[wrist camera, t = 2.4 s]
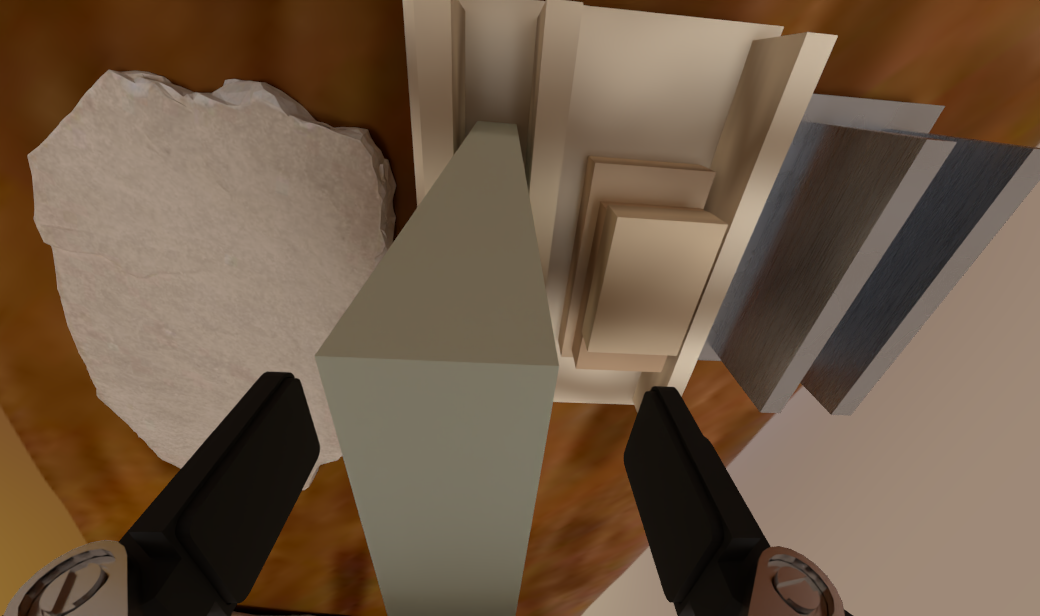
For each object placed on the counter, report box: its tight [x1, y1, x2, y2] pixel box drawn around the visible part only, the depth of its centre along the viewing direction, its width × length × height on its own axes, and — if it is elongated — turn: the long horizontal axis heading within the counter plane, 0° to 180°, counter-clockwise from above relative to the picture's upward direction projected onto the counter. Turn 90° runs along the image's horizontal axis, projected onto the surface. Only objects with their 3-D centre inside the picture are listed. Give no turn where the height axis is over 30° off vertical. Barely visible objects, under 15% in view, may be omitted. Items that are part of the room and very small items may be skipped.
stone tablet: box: [28, 70, 397, 490], centre depth 22 cm, size 16×30×2 cm, turn 159°
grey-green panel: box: [315, 121, 559, 616], centre depth 12 cm, size 12×2×15 cm, turn 176°
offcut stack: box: [558, 156, 728, 372], centre depth 17 cm, size 10×5×4 cm, turn 176°
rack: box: [403, 0, 838, 413], centre depth 17 cm, size 20×14×6 cm
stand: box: [698, 94, 1040, 415], centre depth 17 cm, size 14×6×6 cm, turn 176°
